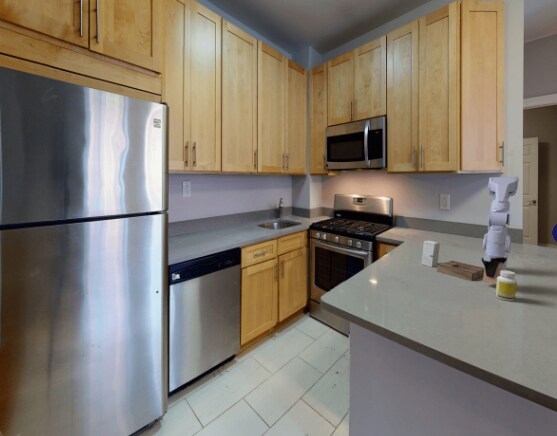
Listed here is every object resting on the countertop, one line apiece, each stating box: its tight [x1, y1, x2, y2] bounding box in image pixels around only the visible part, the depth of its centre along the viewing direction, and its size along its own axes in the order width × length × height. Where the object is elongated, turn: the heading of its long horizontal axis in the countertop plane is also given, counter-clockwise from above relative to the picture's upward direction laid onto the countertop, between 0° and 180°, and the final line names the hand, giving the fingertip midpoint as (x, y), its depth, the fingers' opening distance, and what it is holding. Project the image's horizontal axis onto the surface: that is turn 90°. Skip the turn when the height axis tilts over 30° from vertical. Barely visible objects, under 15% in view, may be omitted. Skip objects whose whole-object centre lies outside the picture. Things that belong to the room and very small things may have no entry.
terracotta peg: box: [482, 262, 503, 285], centre depth 103 cm, size 4×4×8 cm
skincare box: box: [421, 240, 441, 268], centre depth 130 cm, size 6×4×12 cm
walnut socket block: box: [436, 260, 484, 282], centre depth 119 cm, size 14×14×3 cm
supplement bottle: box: [494, 269, 518, 302], centre depth 92 cm, size 5×5×10 cm
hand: (492, 275), depth 103 cm, fingers closed on terracotta peg, 4 cm apart
